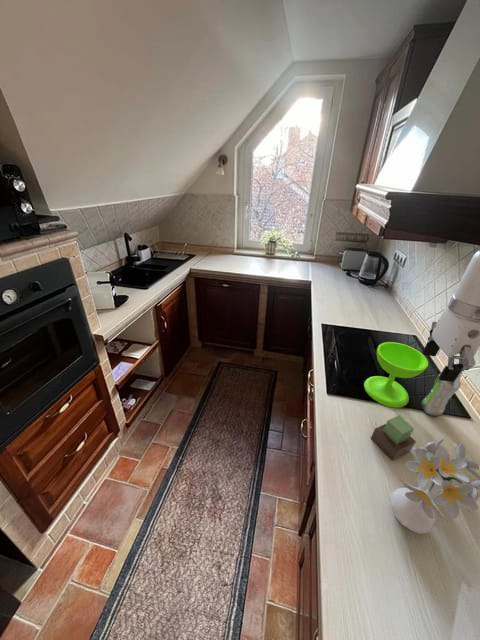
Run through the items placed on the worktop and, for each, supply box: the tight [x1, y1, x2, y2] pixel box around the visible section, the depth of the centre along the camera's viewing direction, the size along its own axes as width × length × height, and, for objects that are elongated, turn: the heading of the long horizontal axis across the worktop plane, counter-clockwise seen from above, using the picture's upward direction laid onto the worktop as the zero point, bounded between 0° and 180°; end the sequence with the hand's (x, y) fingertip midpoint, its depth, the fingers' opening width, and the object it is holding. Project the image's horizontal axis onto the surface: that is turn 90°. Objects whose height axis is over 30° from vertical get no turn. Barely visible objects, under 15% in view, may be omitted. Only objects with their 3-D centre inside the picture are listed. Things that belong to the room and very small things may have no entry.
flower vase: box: [389, 437, 480, 535], centre depth 56 cm, size 13×18×25 cm
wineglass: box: [363, 341, 429, 409], centre depth 95 cm, size 16×16×18 cm
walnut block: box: [370, 423, 417, 462], centre depth 79 cm, size 8×8×5 cm
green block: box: [383, 415, 415, 445], centre depth 76 cm, size 5×5×5 cm
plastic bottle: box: [420, 371, 463, 417], centre depth 87 cm, size 6×7×20 cm
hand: (436, 366), depth 64 cm, fingers open, 9 cm apart
